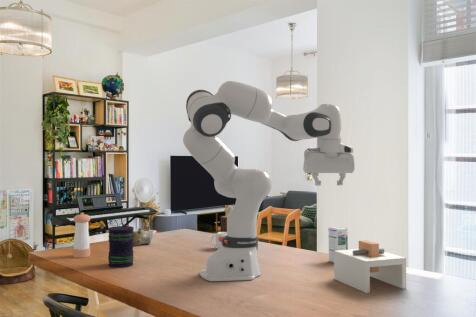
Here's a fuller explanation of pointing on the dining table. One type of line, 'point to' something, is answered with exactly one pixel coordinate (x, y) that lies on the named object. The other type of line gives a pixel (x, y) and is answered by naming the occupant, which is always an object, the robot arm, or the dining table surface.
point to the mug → (218, 239)
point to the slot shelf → (368, 268)
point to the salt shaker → (81, 236)
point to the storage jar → (121, 246)
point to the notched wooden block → (370, 251)
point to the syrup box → (337, 240)
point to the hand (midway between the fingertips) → (329, 185)
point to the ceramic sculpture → (142, 237)
